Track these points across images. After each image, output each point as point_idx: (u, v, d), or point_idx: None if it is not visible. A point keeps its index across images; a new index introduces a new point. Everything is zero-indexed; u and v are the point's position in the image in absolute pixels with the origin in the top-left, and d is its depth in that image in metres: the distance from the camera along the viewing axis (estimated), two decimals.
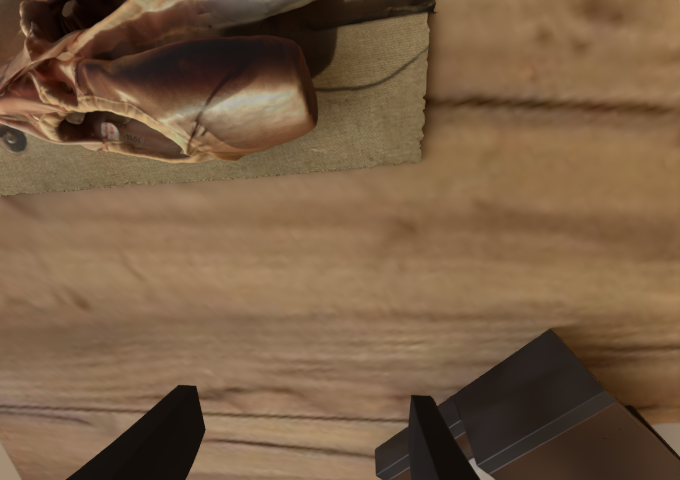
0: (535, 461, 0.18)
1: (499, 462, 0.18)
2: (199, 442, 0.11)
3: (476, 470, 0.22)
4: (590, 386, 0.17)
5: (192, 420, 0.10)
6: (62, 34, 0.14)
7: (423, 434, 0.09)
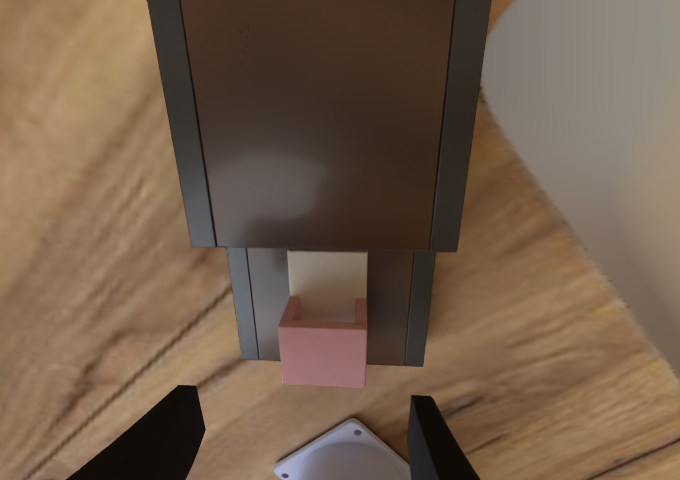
0: (230, 181, 0.11)
1: (202, 219, 0.12)
2: (199, 442, 0.11)
3: (288, 266, 0.15)
4: None
5: (192, 420, 0.10)
6: None
7: (423, 434, 0.09)
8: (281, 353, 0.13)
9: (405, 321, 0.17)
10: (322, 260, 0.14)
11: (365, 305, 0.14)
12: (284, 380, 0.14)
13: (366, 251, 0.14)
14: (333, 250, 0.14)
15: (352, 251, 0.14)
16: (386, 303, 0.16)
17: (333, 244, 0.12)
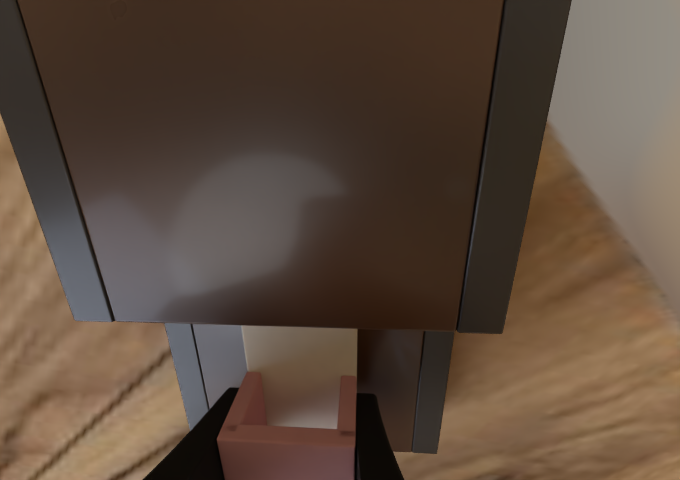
0: (120, 220, 0.07)
1: (85, 280, 0.07)
2: None
3: (242, 331, 0.10)
4: None
5: None
6: None
7: (356, 431, 0.09)
8: (225, 474, 0.09)
9: (413, 398, 0.12)
10: None
11: (354, 390, 0.10)
12: None
13: None
14: None
15: None
16: (387, 375, 0.12)
17: (299, 320, 0.07)
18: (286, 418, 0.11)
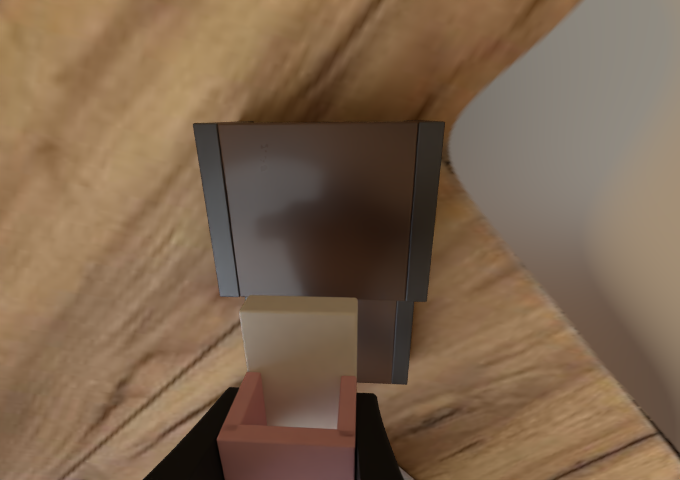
0: (251, 249, 0.15)
1: (229, 276, 0.15)
2: None
3: (242, 332, 0.10)
4: None
5: None
6: None
7: (356, 431, 0.09)
8: (225, 474, 0.09)
9: (391, 347, 0.20)
10: (291, 324, 0.10)
11: (354, 391, 0.10)
12: None
13: (355, 311, 0.10)
14: (306, 310, 0.10)
15: (334, 312, 0.10)
16: (375, 333, 0.20)
17: (331, 295, 0.15)
18: (286, 418, 0.11)
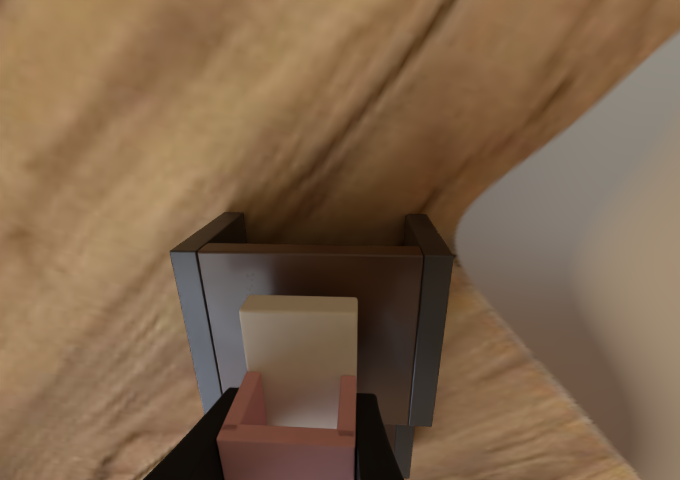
0: (237, 372, 0.13)
1: (214, 397, 0.14)
2: None
3: (242, 331, 0.10)
4: None
5: None
6: None
7: (356, 431, 0.09)
8: (225, 474, 0.09)
9: (392, 444, 0.19)
10: (290, 324, 0.10)
11: (354, 390, 0.10)
12: None
13: (355, 311, 0.10)
14: (306, 309, 0.10)
15: (334, 311, 0.10)
16: None
17: None
18: (286, 418, 0.11)
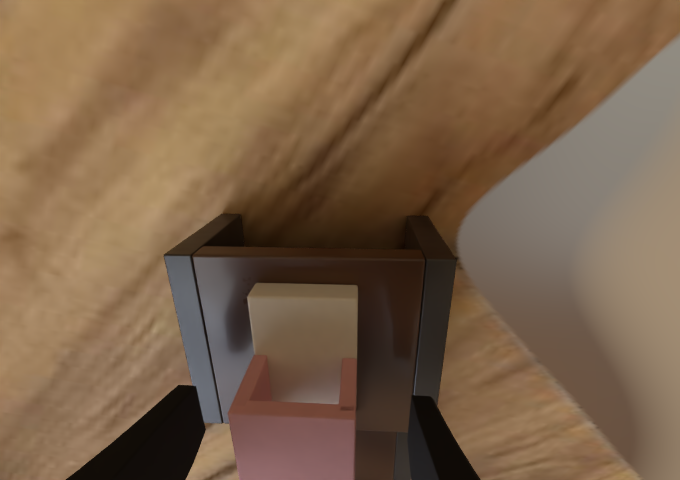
0: (234, 378, 0.13)
1: (210, 404, 0.14)
2: (199, 442, 0.11)
3: (250, 316, 0.11)
4: None
5: (192, 420, 0.10)
6: None
7: (423, 434, 0.09)
8: (235, 446, 0.09)
9: (393, 449, 0.18)
10: (295, 309, 0.10)
11: (355, 371, 0.10)
12: (241, 479, 0.10)
13: (356, 297, 0.10)
14: (310, 295, 0.10)
15: (336, 297, 0.10)
16: (375, 436, 0.18)
17: None
18: (290, 399, 0.12)
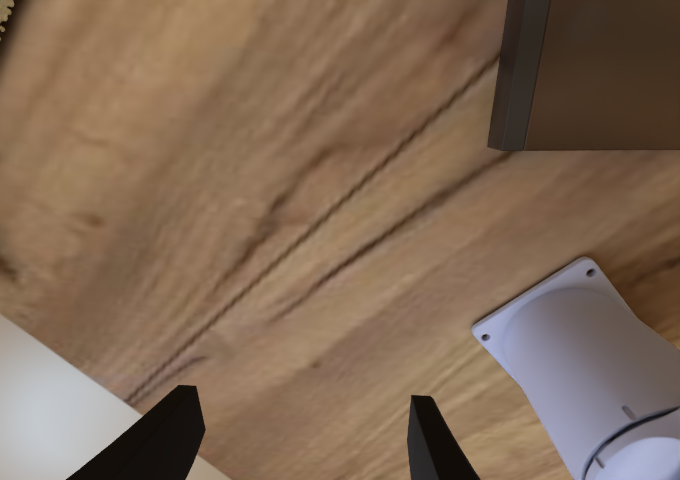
0: None
1: None
2: (199, 442, 0.11)
3: None
4: None
5: (192, 420, 0.10)
6: None
7: (423, 434, 0.09)
8: None
9: None
10: None
11: None
12: None
13: None
14: None
15: None
16: None
17: None
18: None
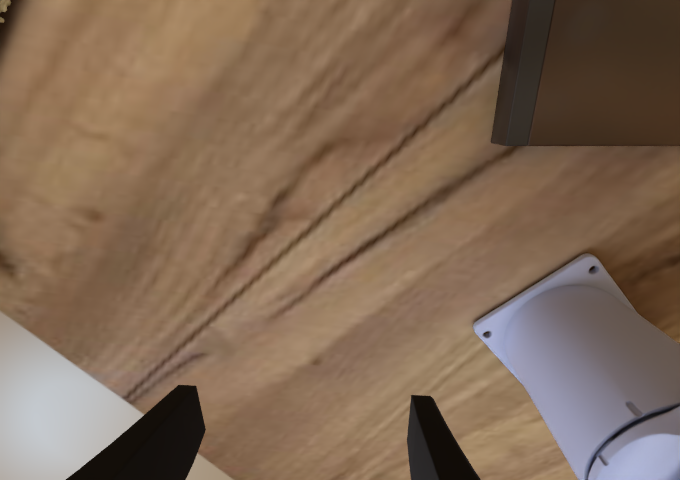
0: None
1: None
2: (199, 442, 0.11)
3: None
4: None
5: (192, 420, 0.10)
6: None
7: (423, 434, 0.09)
8: None
9: None
10: None
11: None
12: None
13: None
14: None
15: None
16: None
17: None
18: None
